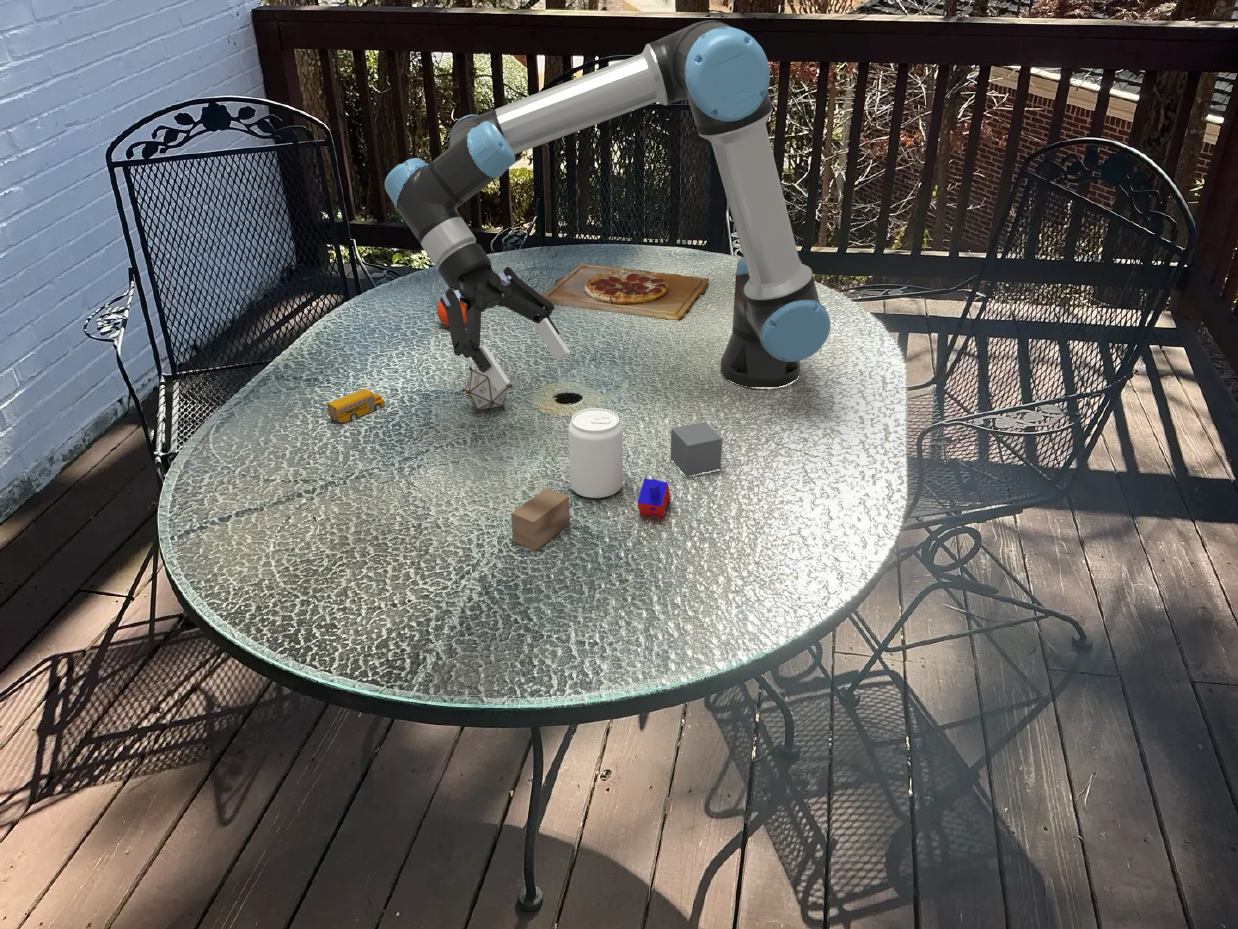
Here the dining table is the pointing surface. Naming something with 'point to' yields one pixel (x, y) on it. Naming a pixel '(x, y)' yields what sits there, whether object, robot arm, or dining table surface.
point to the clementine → (443, 315)
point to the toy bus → (354, 405)
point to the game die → (484, 391)
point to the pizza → (627, 291)
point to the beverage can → (595, 452)
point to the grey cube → (696, 448)
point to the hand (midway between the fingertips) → (535, 371)
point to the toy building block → (653, 498)
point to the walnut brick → (540, 519)
